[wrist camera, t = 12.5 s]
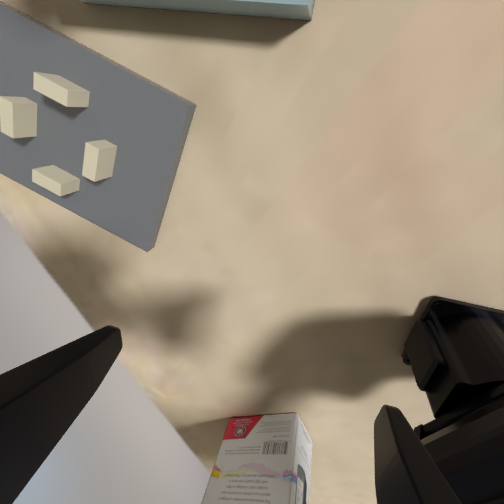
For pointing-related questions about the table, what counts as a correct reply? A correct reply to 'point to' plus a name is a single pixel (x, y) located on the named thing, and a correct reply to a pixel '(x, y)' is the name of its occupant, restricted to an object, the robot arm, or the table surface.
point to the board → (87, 129)
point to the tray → (225, 6)
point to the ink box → (262, 462)
